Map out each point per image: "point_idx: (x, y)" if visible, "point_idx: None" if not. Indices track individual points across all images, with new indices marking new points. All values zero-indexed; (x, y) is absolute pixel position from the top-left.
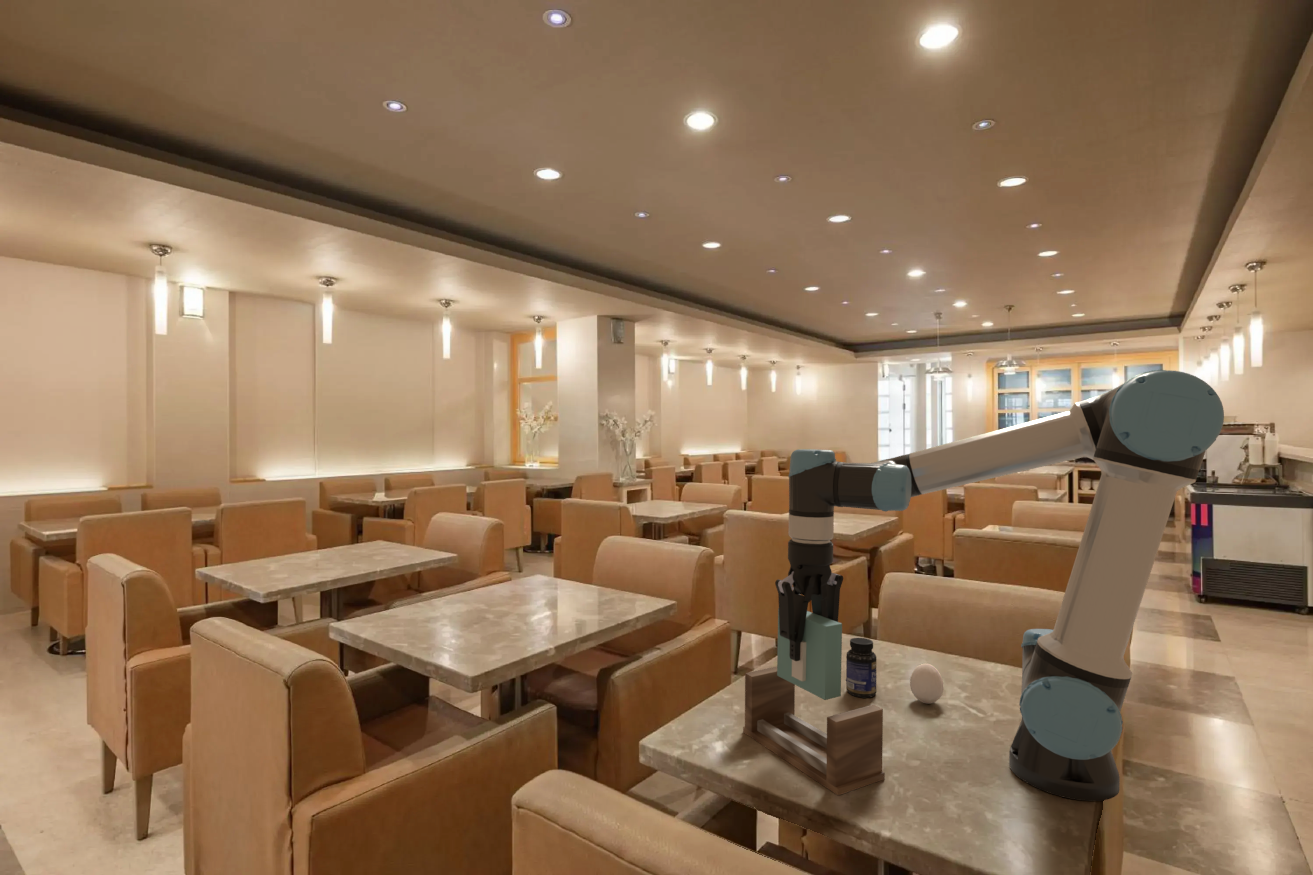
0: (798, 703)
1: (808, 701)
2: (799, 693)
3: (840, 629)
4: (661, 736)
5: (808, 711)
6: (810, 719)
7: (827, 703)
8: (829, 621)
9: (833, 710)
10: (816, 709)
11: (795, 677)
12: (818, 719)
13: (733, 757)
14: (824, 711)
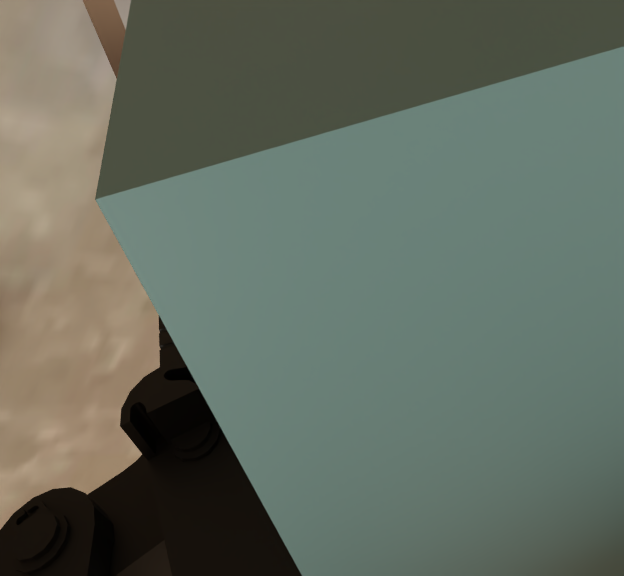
0: (121, 370)
1: (83, 380)
2: (95, 419)
3: (248, 5)
4: None
5: (107, 327)
6: (121, 281)
7: (20, 368)
8: (604, 539)
9: (13, 328)
10: (74, 336)
11: None
12: (92, 279)
13: None
14: (50, 324)
